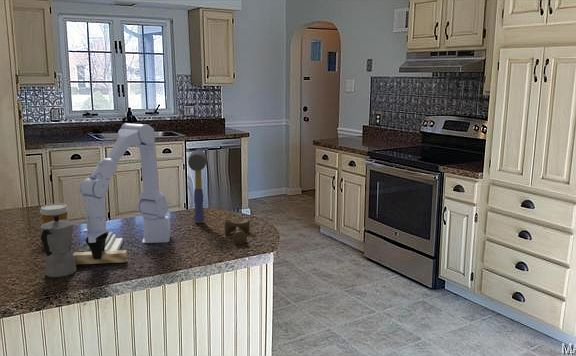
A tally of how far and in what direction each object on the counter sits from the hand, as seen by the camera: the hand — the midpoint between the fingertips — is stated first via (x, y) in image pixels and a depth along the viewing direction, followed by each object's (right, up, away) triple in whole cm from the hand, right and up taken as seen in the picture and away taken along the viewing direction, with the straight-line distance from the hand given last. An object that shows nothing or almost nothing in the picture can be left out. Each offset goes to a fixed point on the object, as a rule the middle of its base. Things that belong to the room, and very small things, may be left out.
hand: (98, 256), depth 155 cm
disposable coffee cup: (-25, +3, +25) cm, 36 cm away
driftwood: (-11, +1, +21) cm, 23 cm away
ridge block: (-2, 0, +13) cm, 13 cm away
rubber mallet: (+24, +6, +46) cm, 52 cm away
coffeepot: (-9, -4, -7) cm, 12 cm away
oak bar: (0, -2, 0) cm, 2 cm away
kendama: (+41, +3, +30) cm, 51 cm away
